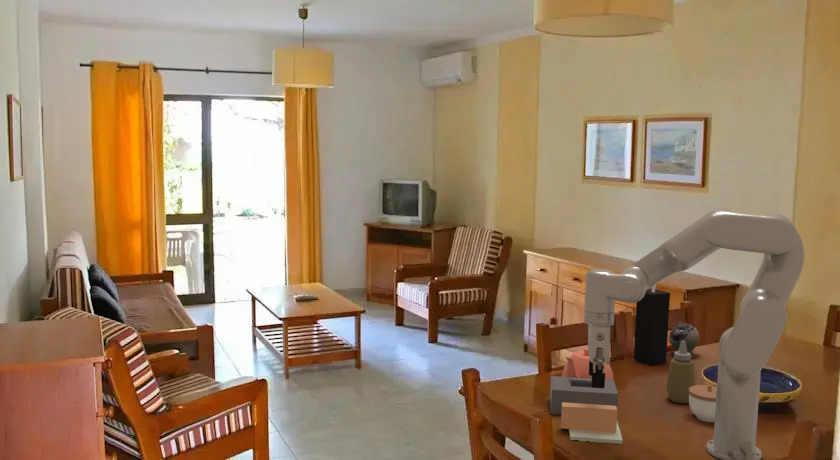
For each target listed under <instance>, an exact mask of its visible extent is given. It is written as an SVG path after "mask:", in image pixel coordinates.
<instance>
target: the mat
mask: <svg viewBox="0 0 840 460" xmlns="http://www.w3.org/2000/svg"><path fill="white" fill-rule="evenodd" d="M568 432H569V434H570V435H569V440H570V441H572V440H579V441H578V442H586V441H589V443H600V444H601V443H602V444H613V445H614V444H616V445H617V444H618V445H623V444H624V443H623V442H624V441H623V436H622V433H621V429H620V427H619V423H618V421H617V430H616V432H606V431H592V430H577V429H568Z"/></svg>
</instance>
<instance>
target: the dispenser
mask: <svg viewBox="0 0 840 460" xmlns="http://www.w3.org/2000/svg"><path fill="white" fill-rule="evenodd" d="M591 385H592V379H591V378H574V377H562V376H554V375H550V385H549V386H550V389H549V390H550V392H549V394H550V395H549V402H550V414H551V415H561V414H562V402H564V403H580V404H595V405H611V406H616V407H617V409H618V408H619V407H618V405H619V404H618V403H619V392H618V389H617V386H616V383H615V380H608V379H605V387H604V388H592V386H591Z"/></svg>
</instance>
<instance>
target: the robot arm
mask: <svg viewBox="0 0 840 460" xmlns="http://www.w3.org/2000/svg"><path fill="white" fill-rule="evenodd" d="M720 249H726V250H733V251H740V252H748V253H749V252H750V253H757V254H758V253H759V254H763V258H762V261H761V265H760V266H759V269H758V271H757V272H756V275H755V277H754V279H753V280H752V282H751V283H750V284H751V285H750V287H749V288H748V290H747V291H746V293H745V295H744V296H743V298H742V300H741V303H740V306H739V308H740V314H739V316H738V318H737V320H736V322H735V325H734V326H731V327H730V328H728V329H726V330H725V331H724V332H723V333H722V335H721V337H720V338H719V342H718V358H717V359H718V360H717V361H718V362H717V377H716V378H717V380H716V387H717V392H716V407H715V422H713V423H714V424H713V425H714V426H713V439H712V438H711V439H710V440H708V441H707V442H706V444H705V449H706V451H707V453H709V454H710V455H711V456H713V457H715V458H718V459H719V460H762V458H763V457H762V456H763V455H762V453H763V452H762V450H761V449H760V448H758V447H757V445H756V441H757V438H756V437H757V427H758V414H759V402H760V401H759V399H760V391H761V390H760V388H761V385H760V384H761V372H762V369H763V368H764V367H765V365H766V363H767V362H768V361H769V359H770V357H771V355H772V353H773V351H774V349H775V347H776V345H777V344H778V342H779V339H780V338H781V337H782V334H783V332H784V330H785V328H786V325H787V321H788V312H787V308H786V305H787V303H788V301H789V298H790V297H791V295H792V294H793V291H794V289H795V287H796V285H797V283H798V281H799V279H800V276H801V273H802V271H803V267H804V264H805V248H804V244H803V241H802V237H801V235H800V234H799V231H798V230H797V227H796V226H795V224H794V223H793V222H792V221H791V220H790V218H788V217H787V216H785V215H783V214H781V213H778V212H768V213H765V214H763V215H757V214H756V215H755V214H754V215H753V214H744V213H737V212H734V211H732V210H731V209H727V208H723V207H722V208H720V207H719V208H715V209H713V210H711V211H709V212H707V213H706V214H705V215H703V216H702V217H700V218H698V219H697V220H695V221H694V222H693V223H692V224H690V225H688V226H687V227H685V228H684V229H683V230H681V231H680V232H678V233H677V234H675V235H674V236H672V237H671V238H669V239H668V240H666V241H665V242H663V243H662V244H661V245H659V246H658V247H657V248H655V249H654V250H652V251H651V252H649V253H648V254H646V255H644V256H643V257H642V258H640V259H639V260H637V261H635V262H634V263H632V264H631V265H630V266H628V267H626V268H625V269H624V270H623V271H622V272H621V273H615V272H614V271H613V270H610V269H607V268H606V269H605V268H591V269H589V270H588V271H587V272H586V274H585V288H584V289H585V292H584V312H583V313H584V314H583V316H584V317H583V322H584V324H587V325H588V326H587V328H588V332H587V347H588V353H589V358H590V360H589V375H590V376H592V385H591V386H592V388H604V387H605V366H604V360H605V363H607V364H609V365H610V363H611V326H614V324H615V311H616V310H615V308H616V307H615V306H616V305H615V304H616V301H618V302H622V303H627V304H636V302H638V301H640V300H641V299H642V298H643V297H644V295H645V293H646V290H647V289H651V287H652V286H653V285H655V284H656V283H657V284H658V283H659V282H661V281H662V280H664V279H666V278H667V277H669V276H671V275H673V274H675V273H678V272H684V271H687V270H689V269H691V268H693V267H694V266H696V265H697V264H698V263H700V262H702V261H703V260H705V258H708V257H709V256H711V255H712V254H715V253H716V251H718V250H720Z"/></svg>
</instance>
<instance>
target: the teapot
mask: <svg viewBox="0 0 840 460" xmlns="http://www.w3.org/2000/svg"><path fill="white" fill-rule="evenodd" d="M565 359H566V363H565V364H564V367H563V369H562V373H561V377H574V378H591V379H592V376H590V375H589V360H590V358H589V353H588V346H587V347H586V346H585V347H583V350H576V351H574V352H573V353H571V356H570V357H568V356H565ZM604 366H605V379H608V380H614V373H613V370H612V367H611V365H610V363H609V364H607V363H605V360H604ZM614 381H615V380H614Z"/></svg>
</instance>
